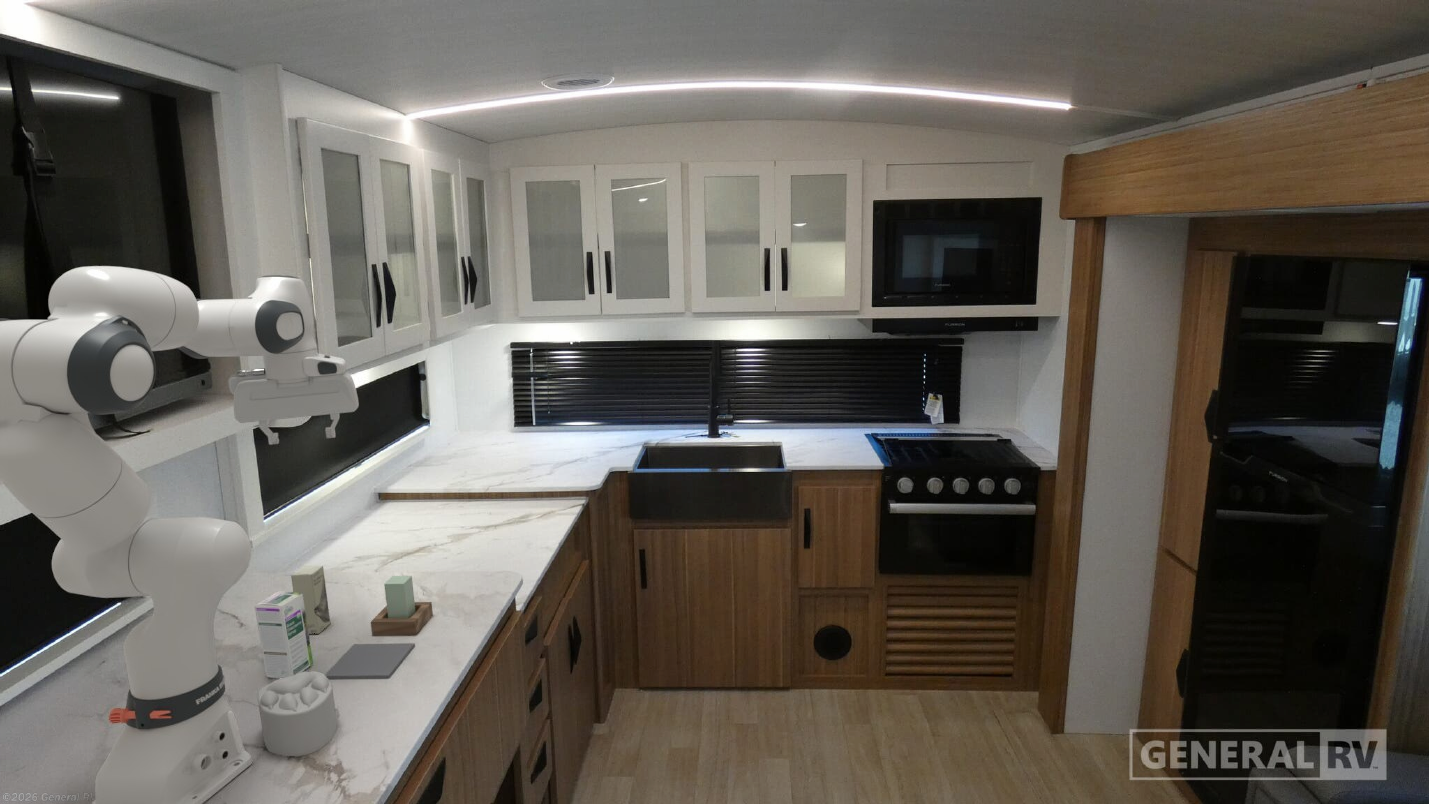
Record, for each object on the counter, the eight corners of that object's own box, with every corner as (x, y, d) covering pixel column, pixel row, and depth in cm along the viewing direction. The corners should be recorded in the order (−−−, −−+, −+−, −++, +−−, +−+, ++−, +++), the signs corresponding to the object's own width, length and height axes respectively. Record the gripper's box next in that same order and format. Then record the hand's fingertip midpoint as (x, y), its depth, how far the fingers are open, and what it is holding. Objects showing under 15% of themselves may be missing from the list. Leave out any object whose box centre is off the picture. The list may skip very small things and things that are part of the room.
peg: (409, 629, 168) (403, 583, 166) (389, 630, 168) (384, 583, 166) (416, 620, 172) (411, 575, 170) (397, 621, 172) (392, 576, 170)
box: (319, 634, 167) (311, 574, 165) (297, 635, 167) (289, 575, 165) (331, 622, 172) (324, 564, 170) (310, 623, 173) (303, 565, 170)
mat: (389, 678, 149) (388, 675, 149) (323, 679, 150) (323, 676, 150) (415, 646, 161) (414, 643, 161) (354, 646, 162) (354, 644, 161)
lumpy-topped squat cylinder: (328, 705, 141) (321, 659, 139) (345, 741, 131) (339, 691, 129) (259, 728, 135) (252, 679, 133) (272, 767, 125) (264, 714, 123)
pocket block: (416, 635, 166) (414, 621, 165) (372, 635, 166) (370, 622, 165) (432, 615, 174) (431, 601, 174) (390, 615, 175) (389, 602, 174)
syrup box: (292, 680, 150) (282, 605, 147) (264, 677, 151) (253, 603, 148) (313, 664, 155) (304, 592, 152) (286, 662, 156) (276, 590, 154)
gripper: (223, 374, 142) (235, 451, 145) (352, 363, 149) (361, 437, 152) (229, 368, 148) (241, 443, 151) (353, 358, 155) (362, 430, 158)
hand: (302, 440), depth 152 cm, fingers open, 8 cm apart
